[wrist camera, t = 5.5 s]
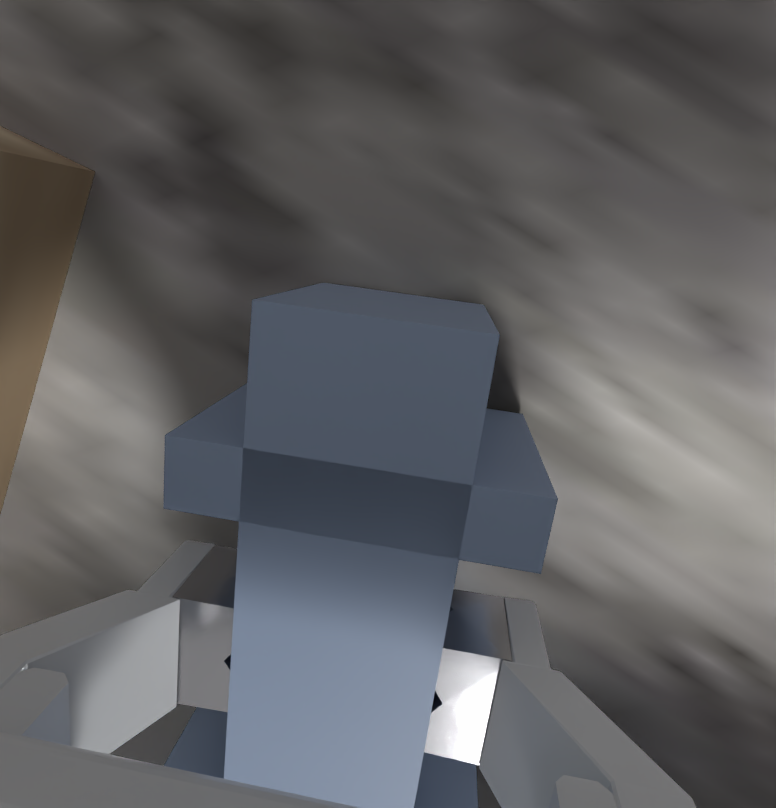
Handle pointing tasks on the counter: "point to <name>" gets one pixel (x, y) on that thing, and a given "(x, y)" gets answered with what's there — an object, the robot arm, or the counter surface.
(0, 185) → the beech stick
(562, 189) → the counter surface
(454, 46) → the counter surface
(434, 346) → the crook
